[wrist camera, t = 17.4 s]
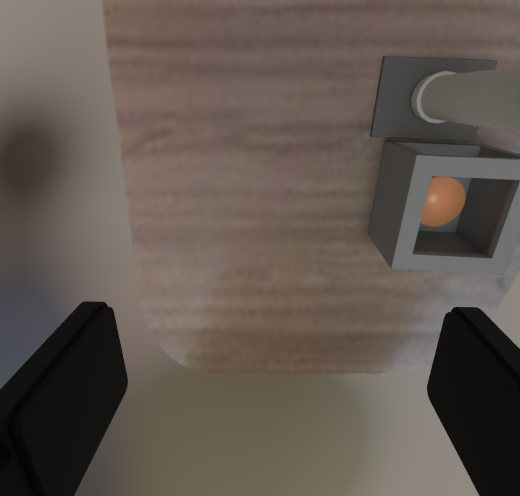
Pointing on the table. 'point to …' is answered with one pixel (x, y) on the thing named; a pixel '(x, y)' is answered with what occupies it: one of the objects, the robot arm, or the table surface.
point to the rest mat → (400, 93)
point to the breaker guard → (460, 228)
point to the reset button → (443, 201)
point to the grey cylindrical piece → (471, 98)
